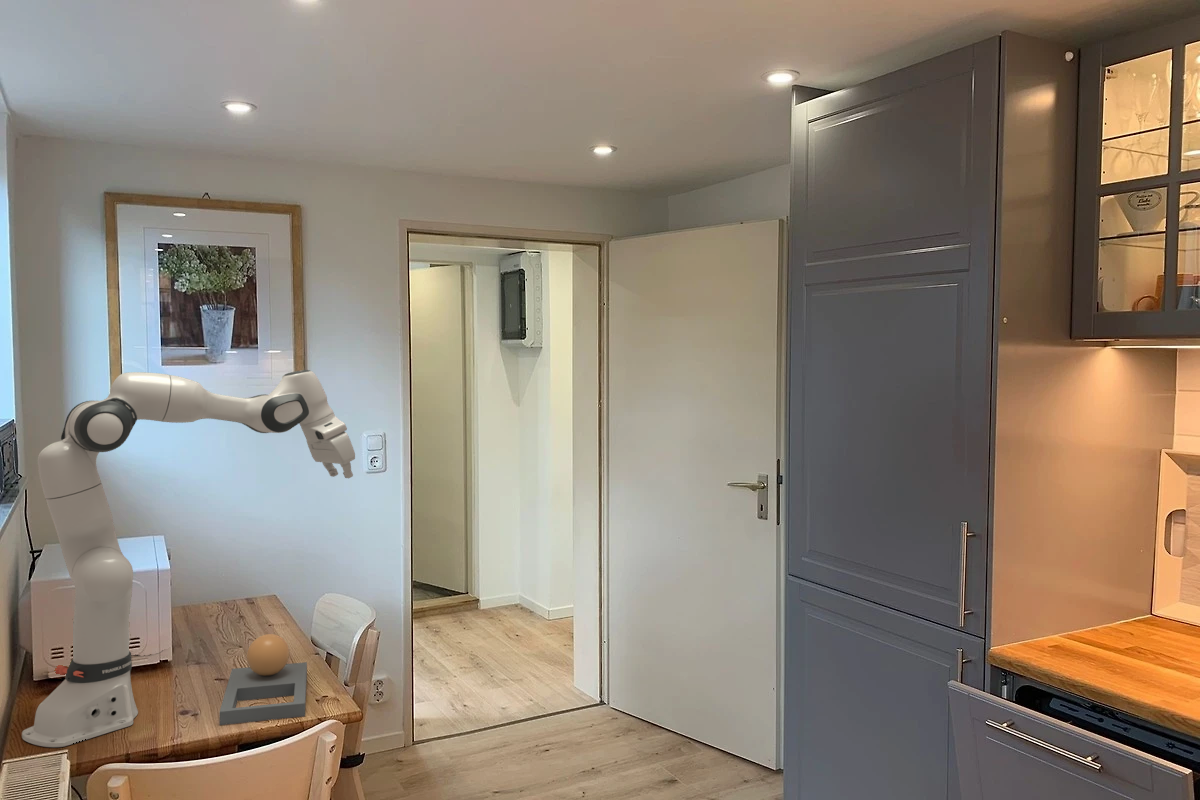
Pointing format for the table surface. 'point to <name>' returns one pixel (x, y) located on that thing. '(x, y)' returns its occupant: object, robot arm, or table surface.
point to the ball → (268, 654)
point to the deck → (264, 694)
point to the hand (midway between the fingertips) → (342, 476)
